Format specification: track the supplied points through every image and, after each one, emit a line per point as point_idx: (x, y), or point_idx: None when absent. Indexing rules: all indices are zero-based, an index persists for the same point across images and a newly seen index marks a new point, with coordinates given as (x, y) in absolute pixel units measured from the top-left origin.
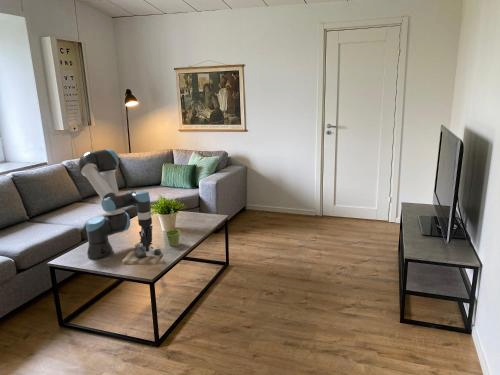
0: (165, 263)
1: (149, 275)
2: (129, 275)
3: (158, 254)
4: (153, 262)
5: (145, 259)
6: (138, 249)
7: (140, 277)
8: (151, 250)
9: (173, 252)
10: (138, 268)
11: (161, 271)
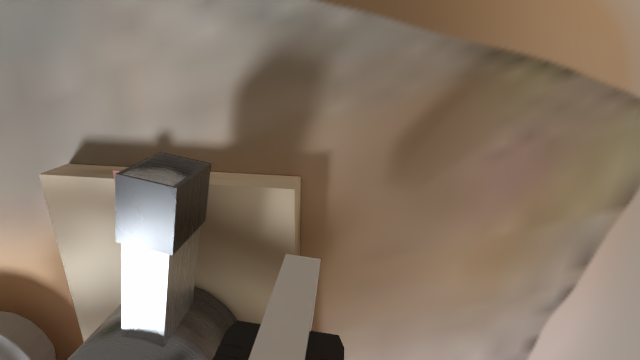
0: (293, 60)
1: (573, 169)
2: (523, 343)
3: (202, 175)
4: (298, 198)
5: (266, 289)
6: None
7: (595, 246)
8: (168, 287)
9: (12, 37)
10: (392, 303)
11: (501, 54)
